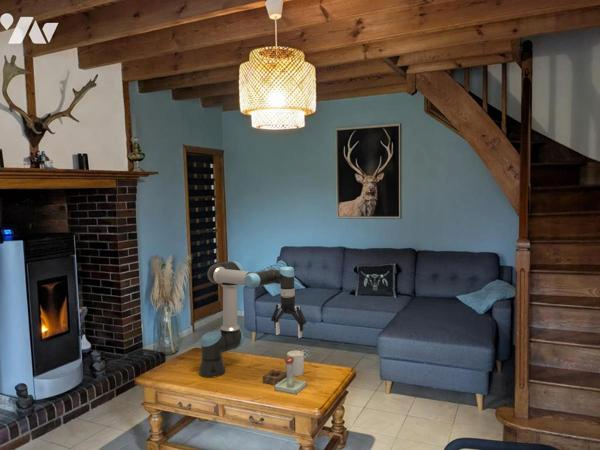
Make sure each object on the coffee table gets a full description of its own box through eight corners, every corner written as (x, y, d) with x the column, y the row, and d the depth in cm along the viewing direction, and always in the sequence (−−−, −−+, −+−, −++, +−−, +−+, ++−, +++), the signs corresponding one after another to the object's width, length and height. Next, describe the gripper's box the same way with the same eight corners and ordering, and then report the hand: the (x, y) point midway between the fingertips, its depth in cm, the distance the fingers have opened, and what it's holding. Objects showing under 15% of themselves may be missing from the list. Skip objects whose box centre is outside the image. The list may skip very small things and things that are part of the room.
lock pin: (284, 387, 245) (283, 359, 244) (288, 384, 249) (287, 356, 248) (292, 389, 242) (291, 360, 241) (296, 385, 247) (295, 357, 246)
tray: (274, 390, 243) (274, 385, 243) (285, 382, 254) (285, 377, 254) (295, 394, 237) (295, 390, 237) (306, 386, 248) (306, 381, 248)
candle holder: (302, 377, 261) (302, 356, 260) (286, 376, 263) (285, 355, 262) (306, 370, 271) (305, 350, 270) (289, 370, 272) (289, 350, 272)
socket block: (262, 383, 254) (262, 376, 254) (272, 376, 263) (272, 370, 262) (278, 386, 249) (278, 378, 249) (287, 379, 258) (287, 372, 258)
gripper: (264, 295, 246) (265, 334, 247) (305, 299, 234) (306, 340, 235) (271, 293, 252) (272, 331, 253) (312, 296, 240) (313, 336, 242)
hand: (288, 335), depth 244 cm, fingers open, 13 cm apart
